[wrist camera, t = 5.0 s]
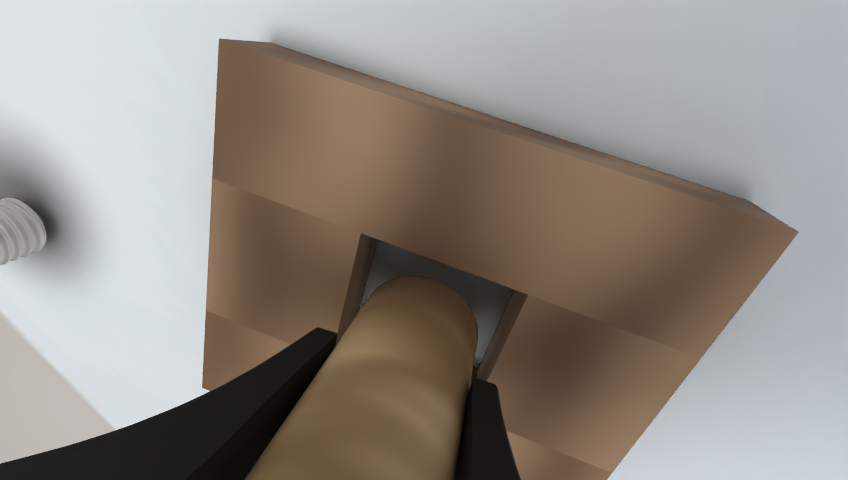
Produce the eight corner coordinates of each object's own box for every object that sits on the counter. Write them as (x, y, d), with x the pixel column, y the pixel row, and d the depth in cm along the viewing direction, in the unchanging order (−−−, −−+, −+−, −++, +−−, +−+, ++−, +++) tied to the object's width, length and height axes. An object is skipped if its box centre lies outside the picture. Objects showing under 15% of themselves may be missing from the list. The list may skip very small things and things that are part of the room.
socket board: (749, 201, 12) (799, 231, 10) (557, 480, 18) (561, 538, 16) (269, 42, 14) (219, 38, 12) (238, 351, 20) (202, 387, 18)
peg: (490, 293, 13) (445, 582, 6) (465, 389, 14) (405, 707, 7) (369, 262, 13) (187, 489, 6) (358, 358, 15) (204, 625, 8)
